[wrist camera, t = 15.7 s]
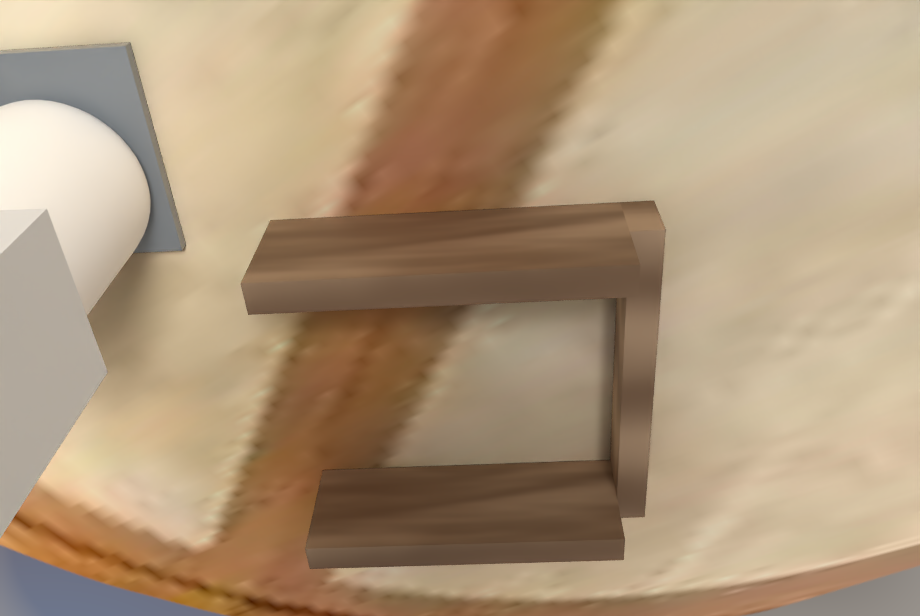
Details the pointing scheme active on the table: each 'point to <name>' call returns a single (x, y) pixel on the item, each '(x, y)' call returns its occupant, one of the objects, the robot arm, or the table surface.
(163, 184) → the coaster
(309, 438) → the table surface
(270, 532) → the table surface
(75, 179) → the mug
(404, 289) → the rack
